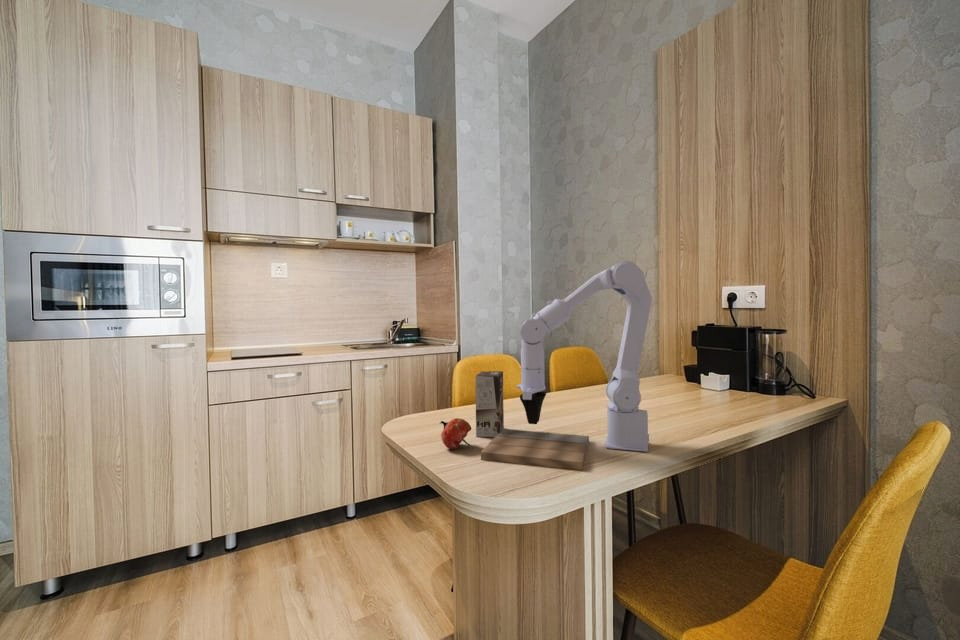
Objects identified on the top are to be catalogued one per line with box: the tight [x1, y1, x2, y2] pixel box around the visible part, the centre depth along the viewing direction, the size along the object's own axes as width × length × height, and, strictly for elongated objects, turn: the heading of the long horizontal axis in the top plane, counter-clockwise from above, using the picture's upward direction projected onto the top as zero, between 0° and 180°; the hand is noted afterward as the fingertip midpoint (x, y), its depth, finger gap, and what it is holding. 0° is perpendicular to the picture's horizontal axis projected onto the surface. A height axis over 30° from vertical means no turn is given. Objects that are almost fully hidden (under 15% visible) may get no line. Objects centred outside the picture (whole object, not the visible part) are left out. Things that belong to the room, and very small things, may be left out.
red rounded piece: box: [439, 417, 474, 451], centre depth 103 cm, size 7×7×10 cm
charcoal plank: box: [497, 428, 590, 449], centre depth 106 cm, size 22×7×2 cm, turn 71°
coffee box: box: [474, 370, 505, 439], centre depth 114 cm, size 9×6×16 cm
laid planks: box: [480, 436, 588, 471], centre depth 97 cm, size 22×12×2 cm, turn 71°
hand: (533, 422), depth 105 cm, fingers closed
